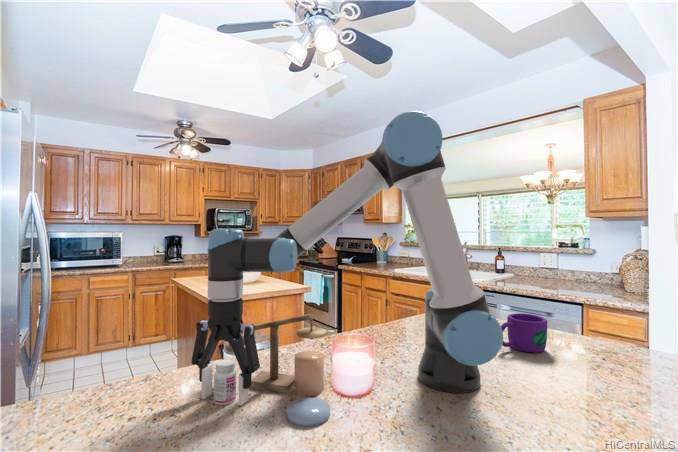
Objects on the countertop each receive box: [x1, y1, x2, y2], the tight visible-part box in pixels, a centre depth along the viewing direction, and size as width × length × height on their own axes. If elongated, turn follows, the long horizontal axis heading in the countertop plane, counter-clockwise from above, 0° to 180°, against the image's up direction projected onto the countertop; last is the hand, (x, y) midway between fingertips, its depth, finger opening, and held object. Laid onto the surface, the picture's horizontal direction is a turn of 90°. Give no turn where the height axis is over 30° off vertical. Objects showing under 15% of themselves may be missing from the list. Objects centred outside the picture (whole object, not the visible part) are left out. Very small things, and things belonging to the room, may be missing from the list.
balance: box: [224, 313, 327, 394], centre depth 86 cm, size 26×7×18 cm, turn 73°
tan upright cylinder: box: [293, 350, 325, 397], centre depth 84 cm, size 7×7×8 cm
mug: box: [500, 312, 548, 353], centre depth 112 cm, size 17×11×10 cm, turn 109°
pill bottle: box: [213, 358, 237, 406], centre depth 78 cm, size 5×5×8 cm
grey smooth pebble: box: [286, 397, 331, 428], centre depth 73 cm, size 9×9×1 cm
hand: (224, 399), depth 78 cm, fingers open, 9 cm apart
